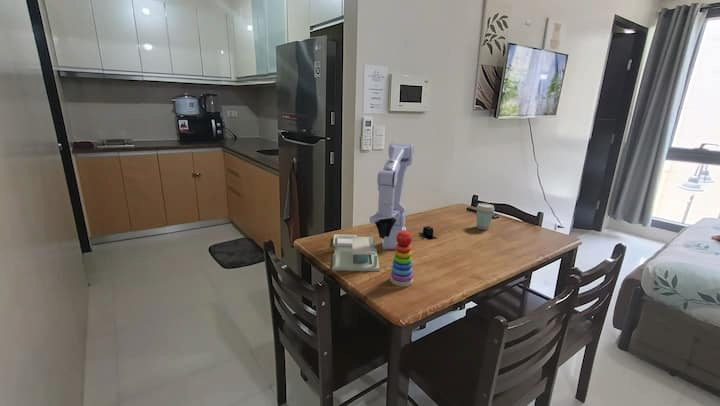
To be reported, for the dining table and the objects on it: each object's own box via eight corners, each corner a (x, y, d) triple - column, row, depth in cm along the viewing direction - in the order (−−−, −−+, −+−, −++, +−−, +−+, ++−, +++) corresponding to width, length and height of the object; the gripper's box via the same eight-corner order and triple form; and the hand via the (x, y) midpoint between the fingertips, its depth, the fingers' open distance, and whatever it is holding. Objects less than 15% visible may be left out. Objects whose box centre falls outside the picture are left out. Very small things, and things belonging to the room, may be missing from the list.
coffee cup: (493, 227, 172) (496, 204, 169) (489, 232, 165) (492, 208, 162) (476, 223, 177) (479, 201, 173) (471, 228, 170) (474, 205, 166)
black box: (413, 233, 163) (414, 224, 161) (426, 231, 166) (427, 222, 164) (429, 242, 152) (430, 232, 151) (442, 240, 155) (443, 230, 154)
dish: (356, 238, 152) (356, 234, 151) (356, 247, 142) (356, 243, 142) (334, 238, 152) (334, 234, 151) (332, 247, 142) (333, 243, 142)
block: (367, 257, 133) (367, 248, 132) (367, 262, 129) (368, 252, 128) (357, 257, 133) (357, 247, 132) (357, 261, 129) (357, 252, 128)
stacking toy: (387, 276, 119) (390, 226, 114) (410, 276, 120) (414, 226, 115) (391, 288, 112) (395, 235, 107) (415, 287, 112) (420, 235, 107)
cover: (372, 238, 137) (372, 235, 136) (374, 254, 122) (374, 251, 122) (352, 238, 136) (352, 235, 136) (352, 254, 122) (352, 250, 122)
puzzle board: (376, 251, 140) (376, 238, 138) (379, 271, 122) (380, 257, 121) (334, 250, 139) (335, 237, 138) (332, 270, 122) (332, 256, 120)
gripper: (391, 197, 132) (389, 229, 136) (364, 203, 123) (363, 238, 126) (405, 201, 127) (402, 234, 131) (378, 208, 118) (376, 244, 121)
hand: (384, 237), depth 128 cm, fingers closed
